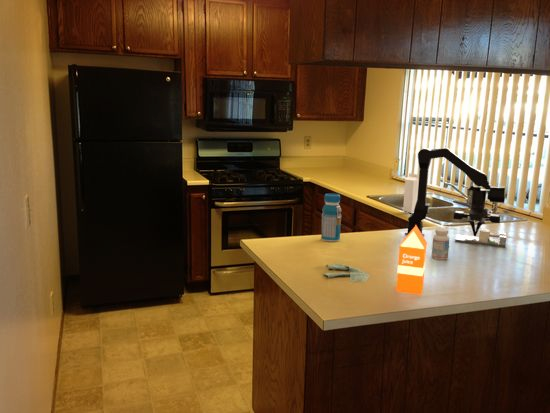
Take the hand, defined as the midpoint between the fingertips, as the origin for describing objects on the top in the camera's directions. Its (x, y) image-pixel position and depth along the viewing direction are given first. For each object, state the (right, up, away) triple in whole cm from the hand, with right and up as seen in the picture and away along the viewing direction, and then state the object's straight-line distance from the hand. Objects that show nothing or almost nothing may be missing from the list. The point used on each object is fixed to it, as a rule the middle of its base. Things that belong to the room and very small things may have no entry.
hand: (474, 236), depth 217 cm
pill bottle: (-24, -7, -25) cm, 35 cm away
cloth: (-65, -11, -45) cm, 80 cm away
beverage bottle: (-64, -2, -1) cm, 64 cm away
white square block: (+5, -2, -3) cm, 6 cm away
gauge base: (+2, -3, 0) cm, 3 cm away
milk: (-12, +9, +61) cm, 63 cm away
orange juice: (-45, -13, -59) cm, 75 cm away
